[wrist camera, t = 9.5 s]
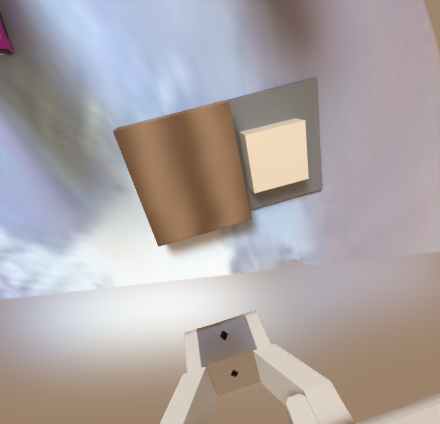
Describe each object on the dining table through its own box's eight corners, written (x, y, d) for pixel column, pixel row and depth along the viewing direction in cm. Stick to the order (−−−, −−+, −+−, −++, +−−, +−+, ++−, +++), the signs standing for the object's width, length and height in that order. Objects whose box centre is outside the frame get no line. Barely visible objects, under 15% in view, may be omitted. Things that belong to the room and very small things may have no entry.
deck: (159, 234, 35) (158, 246, 32) (118, 127, 29) (113, 131, 26) (245, 209, 36) (251, 219, 33) (223, 100, 29) (229, 101, 27)
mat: (245, 209, 36) (246, 211, 35) (223, 100, 29) (224, 100, 29) (320, 188, 36) (322, 189, 36) (314, 77, 30) (316, 77, 30)
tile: (248, 186, 34) (254, 193, 32) (239, 132, 31) (245, 135, 28) (299, 173, 34) (308, 178, 32) (295, 118, 31) (305, 120, 29)
